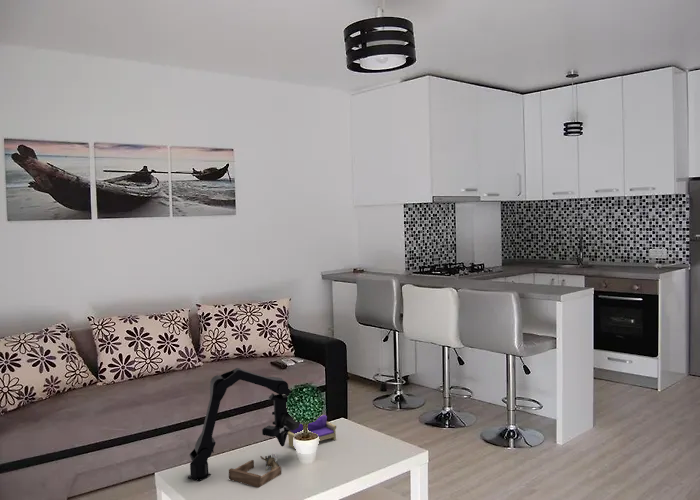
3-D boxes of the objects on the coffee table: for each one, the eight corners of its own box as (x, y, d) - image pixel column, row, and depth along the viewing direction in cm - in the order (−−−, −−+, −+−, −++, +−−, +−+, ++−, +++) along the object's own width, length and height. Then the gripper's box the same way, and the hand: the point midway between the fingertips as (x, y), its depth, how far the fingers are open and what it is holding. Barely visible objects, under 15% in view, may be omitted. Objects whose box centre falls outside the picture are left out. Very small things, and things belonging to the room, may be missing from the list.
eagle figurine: (255, 466, 248) (262, 469, 240) (263, 448, 251) (270, 452, 243) (272, 473, 251) (278, 477, 242) (279, 456, 253) (286, 459, 245)
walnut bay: (258, 487, 231) (258, 477, 230) (229, 479, 239) (228, 469, 238) (281, 474, 242) (280, 464, 242) (252, 467, 250) (251, 457, 250)
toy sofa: (296, 451, 265) (295, 428, 265) (287, 445, 273) (286, 423, 272) (337, 440, 277) (336, 418, 276) (327, 435, 284) (326, 413, 284)
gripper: (282, 418, 242) (284, 457, 243) (310, 405, 258) (311, 441, 259) (260, 414, 248) (262, 452, 249) (288, 401, 264) (290, 437, 264)
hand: (282, 446), depth 255 cm, fingers closed
